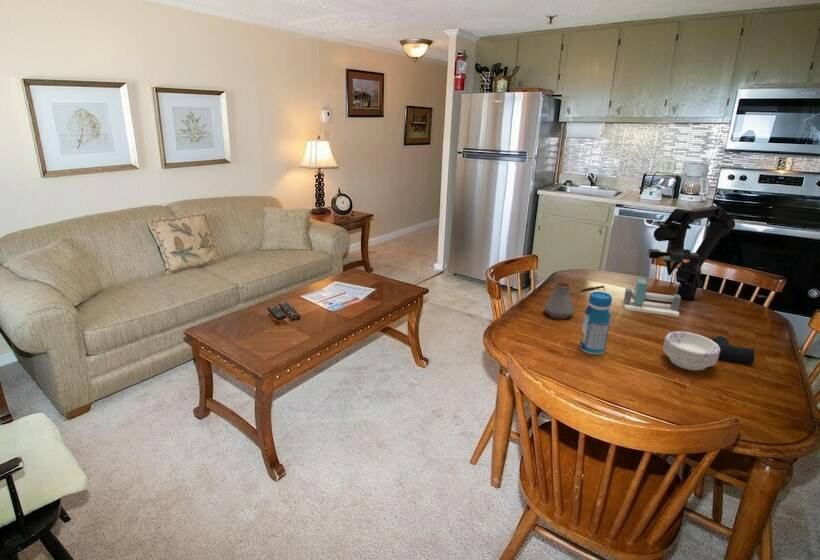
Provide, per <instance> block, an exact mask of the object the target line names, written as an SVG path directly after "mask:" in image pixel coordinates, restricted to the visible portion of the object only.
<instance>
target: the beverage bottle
mask: <svg viewBox="0 0 820 560" xmlns="http://www.w3.org/2000/svg"><path fill="white" fill-rule="evenodd" d="M588 298H589V300H588V304H589V305H588V306H587V307H586V309H585V310H584V314H585V315H584V316H583V318H582V329H581V336H580V341H579V349H581V351H583V352H585V353H587V354H590V355H602V354H604V353H605V351H606V347H607V346H606V345H607V341H608V335H609V331H610V330H609V329H610V327H611V318H612V312H611V309H610V307H611V305H612V302H613V301H612V299H613V297H612V295H611V294H609V293H607V292H605V291H591V292H590V294H589V297H588Z"/></svg>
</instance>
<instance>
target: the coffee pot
mask: <svg viewBox="0 0 820 560" xmlns="http://www.w3.org/2000/svg"><path fill="white" fill-rule="evenodd" d="M553 286H554V290H553V291H552V293H551V295H550V296H549V298H548V299H547V301H546V302H545V304H544V310H545V312H546V313H547V314H548V316H550V317H551V318H555V319H567V318H569V317H570V316H572V315H573V313H575V307H574V304H573V300H572V298H571V295H575V294H578V293H585V292H593V291H596V290H600V289H603V292H605V291H606V287H605V285H601V286H598V285H597V286H592V287H591V286H590V287H587V288H583V289H579V290H574V291H569V290H570V288H572V285H571V284H570V283H568V282H563V281H562V282H561V281H557V282H555V283H553Z"/></svg>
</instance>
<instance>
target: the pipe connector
mask: <svg viewBox="0 0 820 560" xmlns="http://www.w3.org/2000/svg"><path fill="white" fill-rule="evenodd" d="M710 340H712V341H714V342H715V343H717V344H718V346H719V347H720V353H719V357H718V360H723V361H728V360H729V362H735V363H741V364H747V363H748V365H752V364H753V363H754V362H755V359H756V358H755V356H756V354H755V350H754V348H751V347H750V348H748V347H744V346H737V345H731V344H730V342H729V338H728V337H727V336H726V335H722V334H714V333H712V335H711V338H710Z"/></svg>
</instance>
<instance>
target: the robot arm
mask: <svg viewBox="0 0 820 560" xmlns="http://www.w3.org/2000/svg"><path fill="white" fill-rule="evenodd" d="M704 219H707V220H708V222H709V224H708V233H707V234H706V236H705V238H704V239H703V240H702V241H701V243H700V245H699V246H698V248H697V250H696V251H695V252H691V249H685V241H686V240H685V239H686V235H687V231H688V230H691V229H692V226H691V225H690V224H693V223H694V222H695V221H697V220H704ZM735 226H736V222H735V219H734V218H733V217H732V216H731V214H728V212H727V211H726V210H725V209H724V208H723V207H720V206H716V205H710V206H706V207H698V208H693V209H686V208H675V209H674V208H673V211H672V212H671V213H670V215H669V216H668V217H667V218H666V220H665V221H664V222H663V223H662V224H661V223H660V224H659V227H656V228H655V230H654V231H653V238H654V240H656V241H657V242H666V241H668V242H667V247H666V250H665V252H664V251H663V252H662V251H660V250H659V249H658V248H649V249H648V250H647V257H648V258H649V259H655V260H656V259H657V260H658V259H659V258H661V259H662V261H663V262H665V267H666V271H667V275H668V276H671V275H672V273H674V271H675V269H676V268H677V267H678V265H679V264H680V265H679V267H678V268H677V271H675V280H676V283H679V284H678V285H677V287H676V291H675V294H678V295H680V297H681V300H687V301H694V302H695V301H696V298H695V297H696V293H697V289H699V288H701V287H702V285H703V281H702V279H701V278H700V276H701V275H702V265H704V263H705V261H706V260H707V259H708V257H709V256H710V254H711V253H712V252H713V249H714V248H715V247H716V245H717V244H718V243H719V241H720V240H721V239H722V238H724V237H726V236H728V235H729V234H730V233H731V232H732V230H733V229H734V228H735ZM684 260H689V261H687V262H684Z"/></svg>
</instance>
